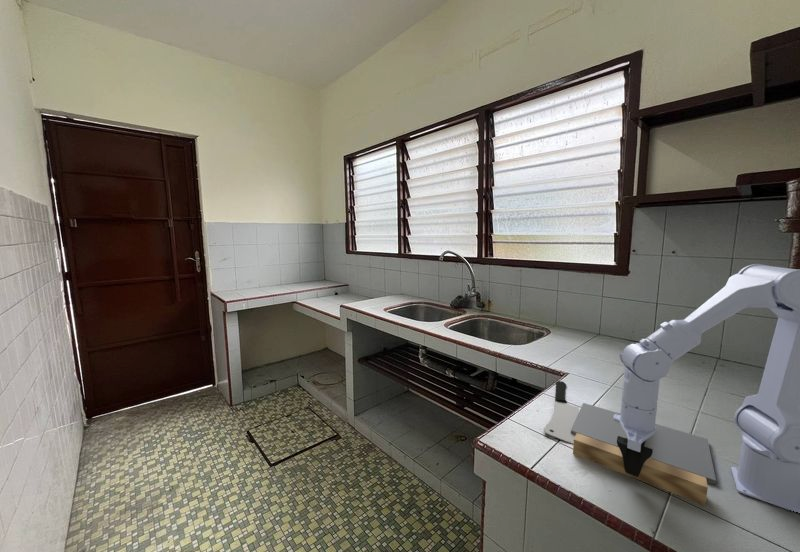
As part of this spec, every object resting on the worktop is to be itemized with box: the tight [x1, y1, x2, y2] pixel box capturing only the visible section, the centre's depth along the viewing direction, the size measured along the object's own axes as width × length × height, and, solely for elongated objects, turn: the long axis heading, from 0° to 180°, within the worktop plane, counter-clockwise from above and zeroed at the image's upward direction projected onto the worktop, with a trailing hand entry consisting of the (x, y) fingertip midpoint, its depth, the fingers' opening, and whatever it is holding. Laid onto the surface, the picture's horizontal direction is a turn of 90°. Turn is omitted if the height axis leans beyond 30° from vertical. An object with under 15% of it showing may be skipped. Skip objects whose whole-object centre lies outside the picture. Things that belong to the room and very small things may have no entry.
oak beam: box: [572, 433, 709, 506], centre depth 66 cm, size 22×3×4 cm, turn 50°
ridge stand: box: [571, 402, 717, 486], centre depth 77 cm, size 26×16×4 cm, turn 50°
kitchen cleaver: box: [543, 380, 580, 445], centre depth 89 cm, size 31×2×10 cm
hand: (633, 462), depth 66 cm, fingers open, 7 cm apart
